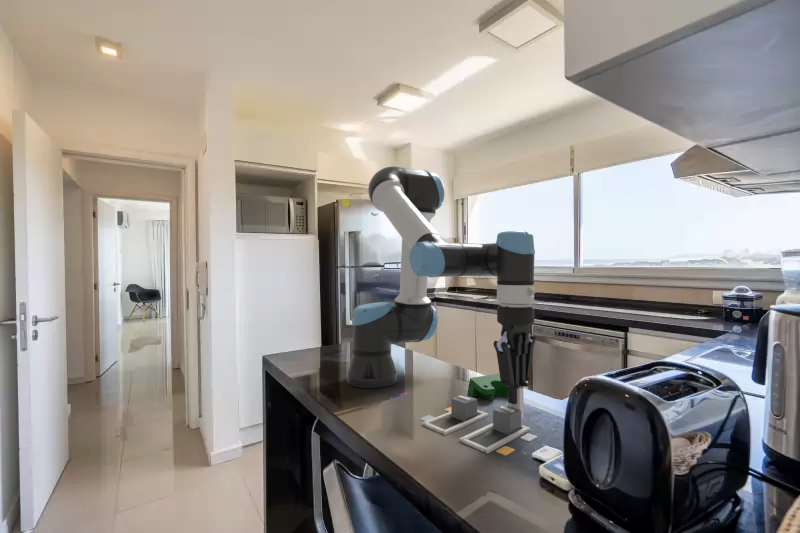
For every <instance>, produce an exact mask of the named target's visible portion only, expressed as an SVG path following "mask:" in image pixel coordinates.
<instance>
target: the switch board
mask: <svg viewBox="0 0 800 533" xmlns="http://www.w3.org/2000/svg"><path fill="white" fill-rule="evenodd" d="M443 411H446V413H443V414H441V415H438V416H434V415H430V414H428V415H425V416H422V417H420V418H419V420H420V421H422V423H421V425H422V426H424V427H426V428H428V429H431V430H433V431H435V432H437V433H440V434H442V435H444V436H446V435H449V434H452V433H453V432H455V431H458V430H460V429H463V428H465V427H467V426H469V425H471V424H474V423H476V422H478V421H480V420H482V419H483V420H484V419H485V418H487V417H489V413H487V412H484V411H483V410H479V409H477V416H476V417H474V418H472V419H469V420H467V421H461V422H460V423H457V424H455V425H453V426H451V427H449V428H446V429H444V428H441V427H439V426H436V425H434V423H437V422H440V421H441V420H444V419H446V418H450V417H451V406H449V407H447V408H444V409H443ZM491 430H493V422H492V423H489V424H487V425H485V426H482V427H481V428H478V429H477V430H474V431H472V432H471V433H468V434H466V435H464V436H462V437H459V442H460V443H463V444H465V445H467V446H469V447H471V448H474V449H476V450H478V451H481V452H483V453H485V454H487V455H488V454H490V453H491V452H493V451H495V452H496V453H498V454H500V455H503V456H506V457H507V456H508V455H511V454H512V453H513V452H515V451H516V449H515V448H512V447H511V446H510V447H509V446H507V445H506V444H508V443H510V442H512V441H514V440H515V439H517V438H518V437H519V438H520V440H524V441H526V442H529V443H530V442H533V441H534V440H535V439H537V438H539V437H538V436H537V435H535V434H531V433H528V432H529V431H531V428H530V427H528V426H526V425H523V424H521V429H520V430H519V431H517V432H515V433H513V434H511V435H507V436H505V437H504V438H502V439H500V440H498V441H497V442H496V441H495V443H492V444H491V445H489V446H484V445H482V444H480V443H477V442H474V441H473V440H471V439H473V438H476V437H477V436H480V435H482V434H483V433H484V434H485V433H486V432H488V431H491Z"/></svg>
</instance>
